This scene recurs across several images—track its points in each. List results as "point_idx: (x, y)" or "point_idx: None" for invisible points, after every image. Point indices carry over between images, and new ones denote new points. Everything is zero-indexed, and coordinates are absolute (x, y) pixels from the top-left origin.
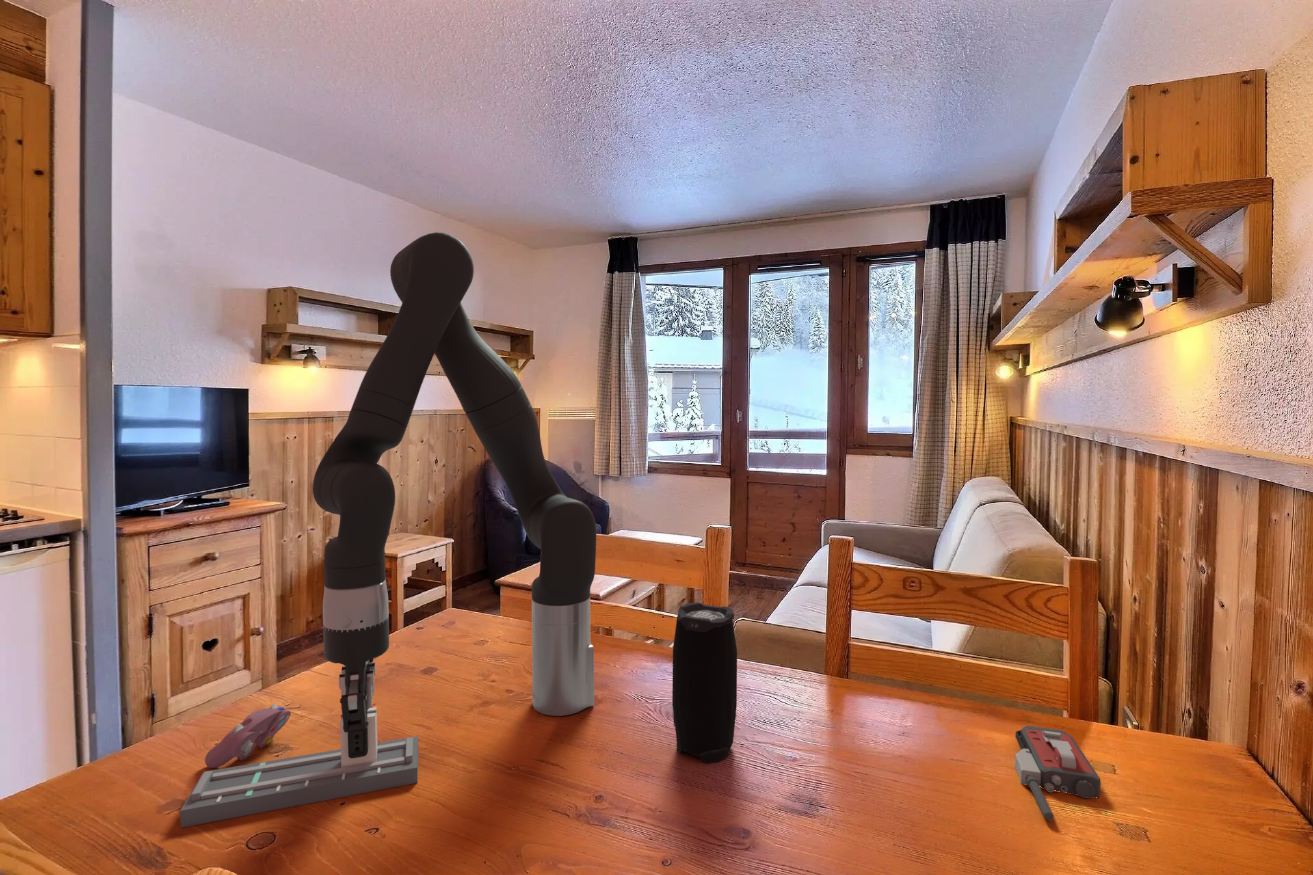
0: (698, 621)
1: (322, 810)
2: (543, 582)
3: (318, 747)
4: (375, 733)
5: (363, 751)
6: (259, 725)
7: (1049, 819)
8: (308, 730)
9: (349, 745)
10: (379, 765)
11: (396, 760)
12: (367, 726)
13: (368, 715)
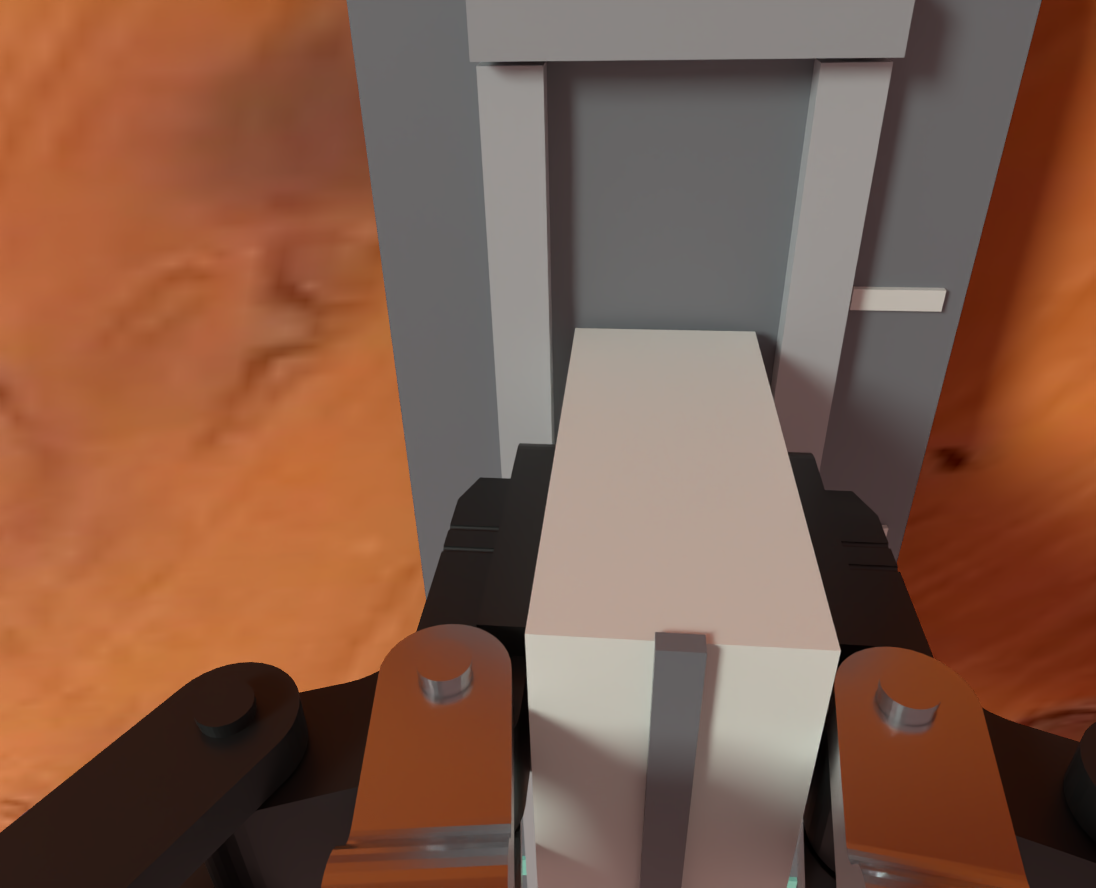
0: None
1: (962, 552)
2: None
3: (216, 612)
4: (791, 482)
5: (868, 508)
6: None
7: None
8: (15, 664)
9: None
10: (849, 302)
11: (858, 152)
12: (946, 667)
13: (768, 713)
